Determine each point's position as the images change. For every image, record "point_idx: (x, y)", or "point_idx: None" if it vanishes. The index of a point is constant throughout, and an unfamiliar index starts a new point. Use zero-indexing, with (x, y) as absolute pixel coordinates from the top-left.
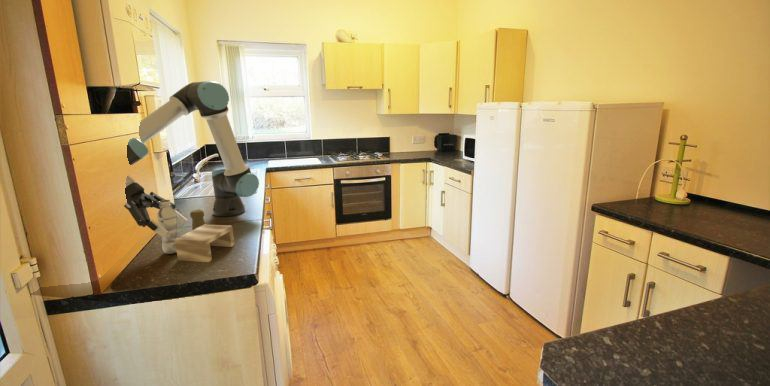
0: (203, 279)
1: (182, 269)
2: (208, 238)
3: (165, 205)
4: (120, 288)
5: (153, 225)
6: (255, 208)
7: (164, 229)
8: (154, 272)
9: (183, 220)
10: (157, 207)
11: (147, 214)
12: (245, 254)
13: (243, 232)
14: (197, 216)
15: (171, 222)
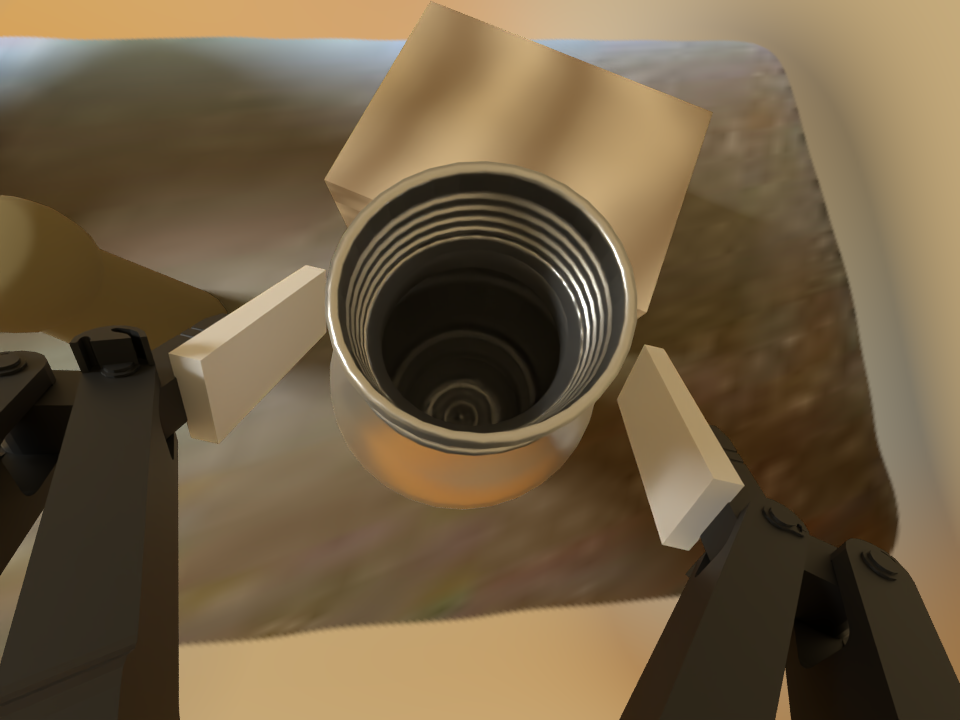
0: (810, 193)
1: (704, 301)
2: (669, 101)
3: (585, 283)
4: (880, 523)
5: (729, 455)
6: None
7: (664, 365)
8: (722, 425)
9: (314, 300)
10: (173, 616)
11: (741, 588)
12: None
13: (238, 98)
14: (91, 253)
15: (538, 328)
